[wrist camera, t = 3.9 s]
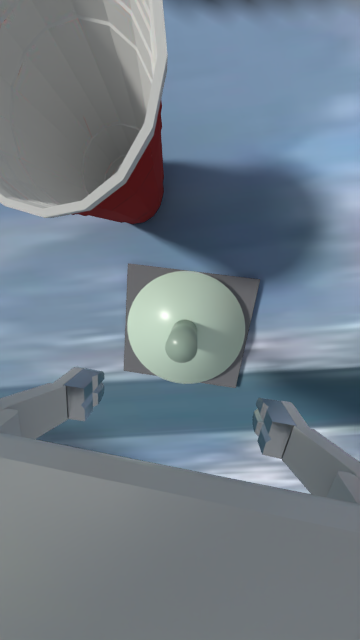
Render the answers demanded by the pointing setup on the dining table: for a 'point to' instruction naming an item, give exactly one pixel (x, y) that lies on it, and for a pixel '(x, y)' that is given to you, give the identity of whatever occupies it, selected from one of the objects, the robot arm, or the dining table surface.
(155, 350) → the lid
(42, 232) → the dining table surface
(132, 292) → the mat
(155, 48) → the plastic cup
